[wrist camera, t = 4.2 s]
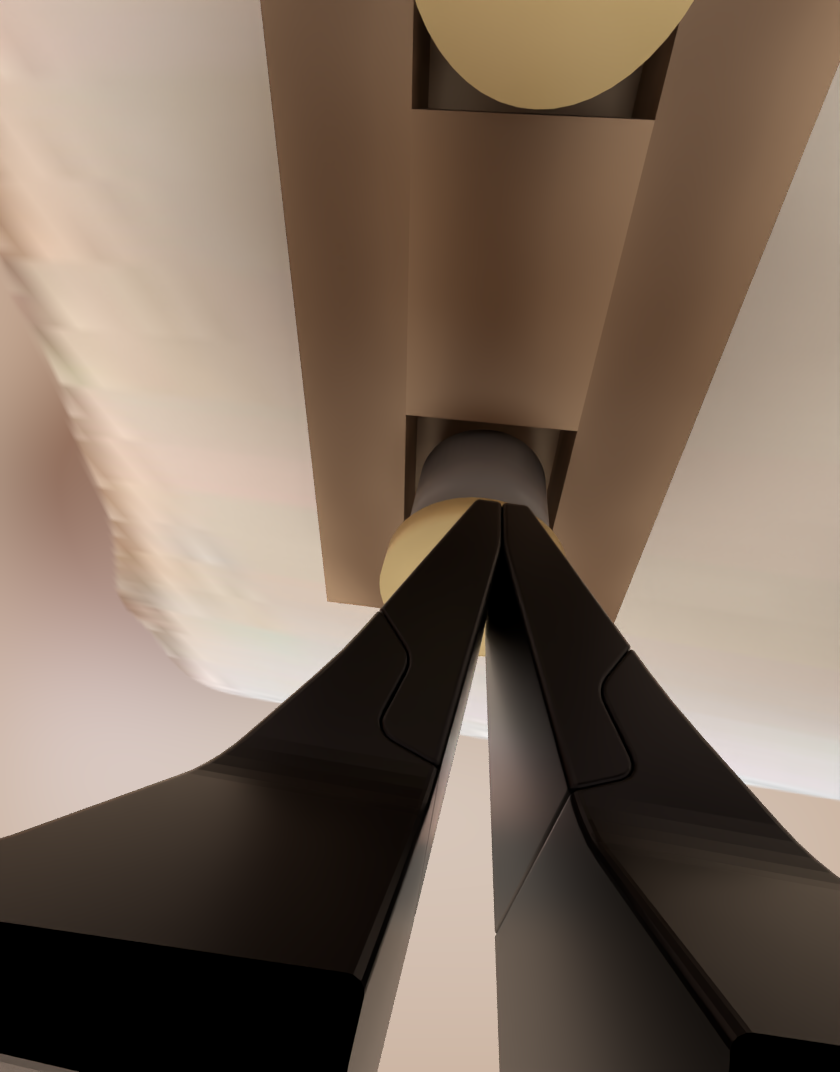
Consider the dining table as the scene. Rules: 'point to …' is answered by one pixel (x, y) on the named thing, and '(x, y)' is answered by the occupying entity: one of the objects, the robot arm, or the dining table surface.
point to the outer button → (548, 44)
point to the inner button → (464, 496)
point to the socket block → (525, 259)
